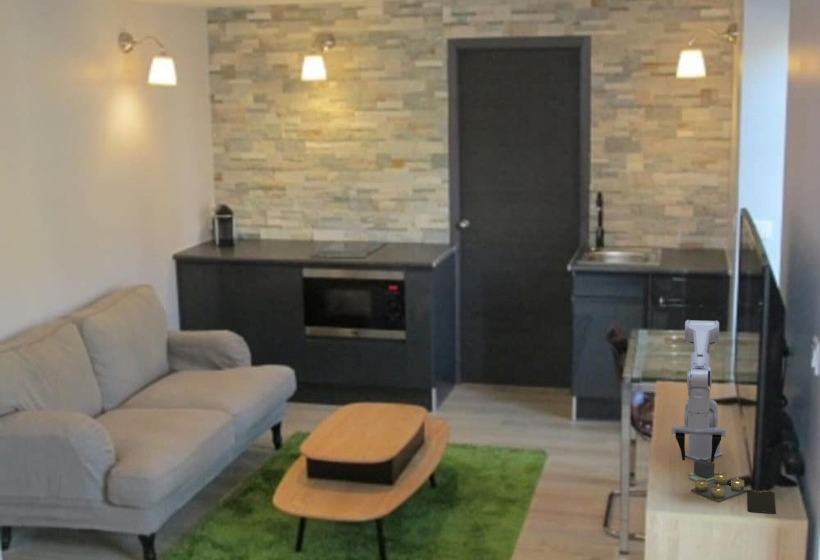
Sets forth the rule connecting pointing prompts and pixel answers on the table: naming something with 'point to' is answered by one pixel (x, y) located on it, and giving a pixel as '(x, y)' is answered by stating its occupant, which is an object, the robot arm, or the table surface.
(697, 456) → the robot arm
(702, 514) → the table surface
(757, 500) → the smartphone
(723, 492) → the chassis
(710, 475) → the green plate with block
